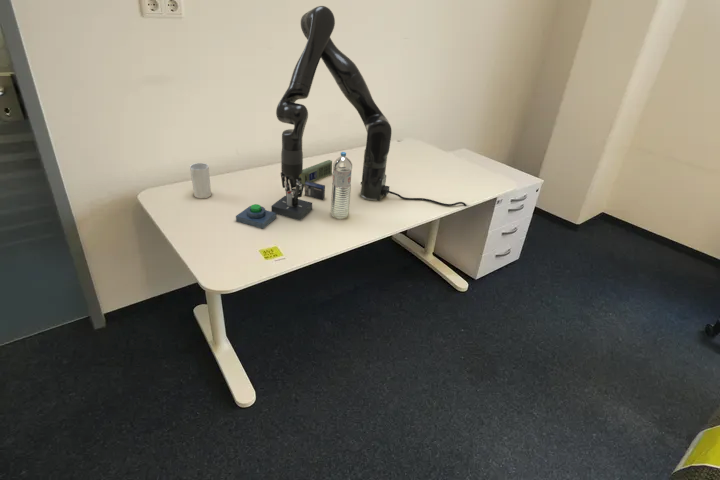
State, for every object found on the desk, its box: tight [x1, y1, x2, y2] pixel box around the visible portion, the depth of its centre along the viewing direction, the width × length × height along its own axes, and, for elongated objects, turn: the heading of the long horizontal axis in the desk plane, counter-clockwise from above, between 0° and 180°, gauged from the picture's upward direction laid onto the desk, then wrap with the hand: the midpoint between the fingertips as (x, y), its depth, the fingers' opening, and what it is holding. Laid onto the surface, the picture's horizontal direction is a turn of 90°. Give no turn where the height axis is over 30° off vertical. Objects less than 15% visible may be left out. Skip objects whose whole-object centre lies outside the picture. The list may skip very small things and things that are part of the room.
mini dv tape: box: [304, 181, 326, 201], centre depth 172 cm, size 8×2×6 cm, turn 68°
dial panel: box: [270, 195, 313, 221], centre depth 161 cm, size 12×10×3 cm
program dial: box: [287, 190, 295, 207], centre depth 159 cm, size 4×4×5 cm
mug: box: [189, 162, 212, 199], centre depth 165 cm, size 10×7×12 cm, turn 46°
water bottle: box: [330, 151, 353, 220], centre depth 156 cm, size 7×7×25 cm
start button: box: [250, 203, 262, 213], centre depth 152 cm, size 4×4×2 cm
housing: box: [235, 205, 277, 230], centre depth 153 cm, size 11×9×4 cm
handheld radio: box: [299, 159, 333, 187], centre depth 184 cm, size 7×3×25 cm
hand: (291, 202), depth 160 cm, fingers closed on program dial, 4 cm apart
